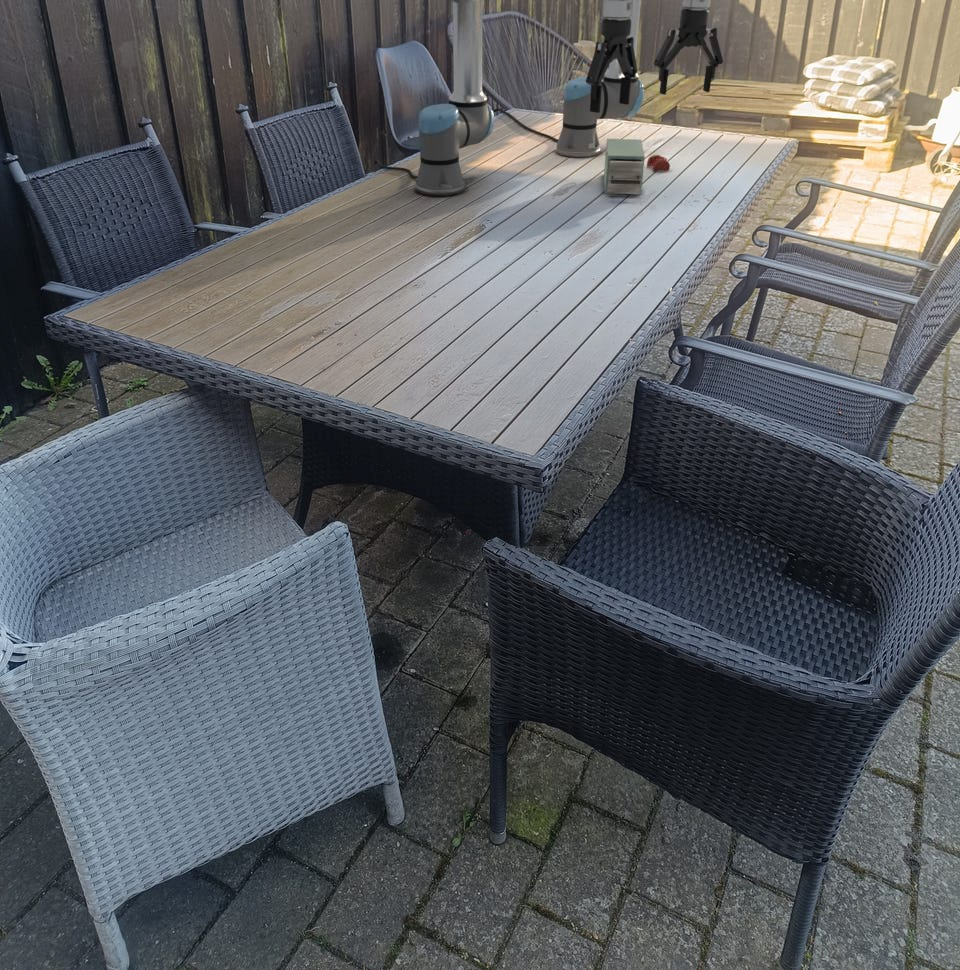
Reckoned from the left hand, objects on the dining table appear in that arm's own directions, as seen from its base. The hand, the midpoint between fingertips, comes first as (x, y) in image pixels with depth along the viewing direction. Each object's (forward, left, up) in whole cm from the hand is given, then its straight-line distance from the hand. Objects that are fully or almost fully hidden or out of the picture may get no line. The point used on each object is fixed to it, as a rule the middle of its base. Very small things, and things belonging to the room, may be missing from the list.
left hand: (609, 107), depth 226 cm
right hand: (+6, +31, 0) cm, 31 cm away
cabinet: (-9, +25, -28) cm, 38 cm away
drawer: (-5, +20, -27) cm, 34 cm away
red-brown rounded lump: (-8, +48, -28) cm, 56 cm away
